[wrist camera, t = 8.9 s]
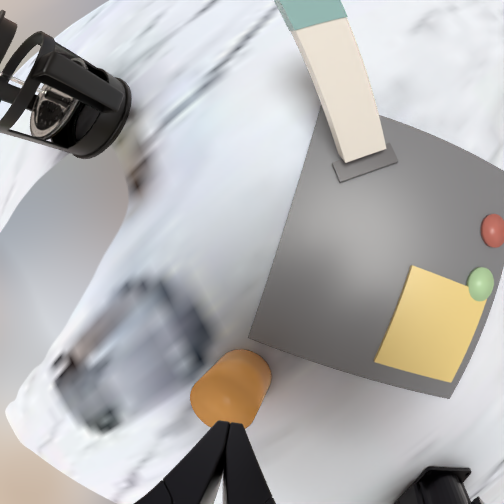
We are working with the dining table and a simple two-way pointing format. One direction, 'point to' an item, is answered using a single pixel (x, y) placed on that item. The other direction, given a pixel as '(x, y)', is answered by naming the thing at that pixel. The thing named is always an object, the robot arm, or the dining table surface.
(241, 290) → the dining table surface
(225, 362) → the cap
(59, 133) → the french press
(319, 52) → the lever
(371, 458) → the dining table surface
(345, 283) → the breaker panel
